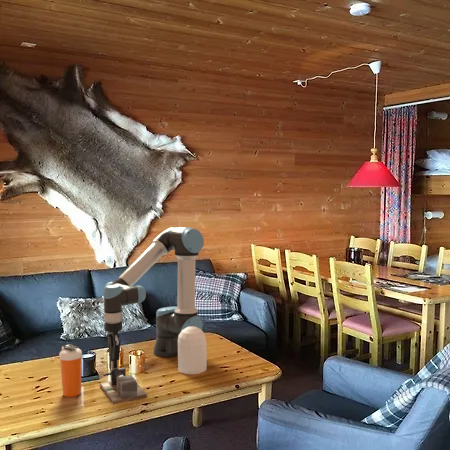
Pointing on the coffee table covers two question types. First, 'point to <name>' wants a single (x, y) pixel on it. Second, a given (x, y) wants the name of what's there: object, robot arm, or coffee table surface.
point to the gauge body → (123, 390)
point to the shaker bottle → (71, 370)
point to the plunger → (116, 374)
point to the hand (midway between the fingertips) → (114, 374)
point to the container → (192, 351)
